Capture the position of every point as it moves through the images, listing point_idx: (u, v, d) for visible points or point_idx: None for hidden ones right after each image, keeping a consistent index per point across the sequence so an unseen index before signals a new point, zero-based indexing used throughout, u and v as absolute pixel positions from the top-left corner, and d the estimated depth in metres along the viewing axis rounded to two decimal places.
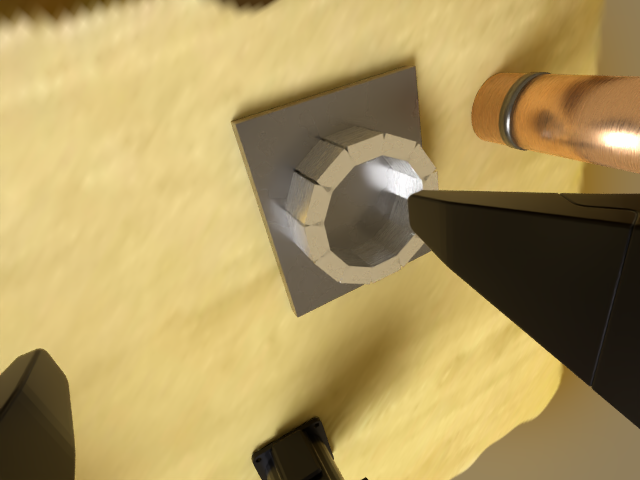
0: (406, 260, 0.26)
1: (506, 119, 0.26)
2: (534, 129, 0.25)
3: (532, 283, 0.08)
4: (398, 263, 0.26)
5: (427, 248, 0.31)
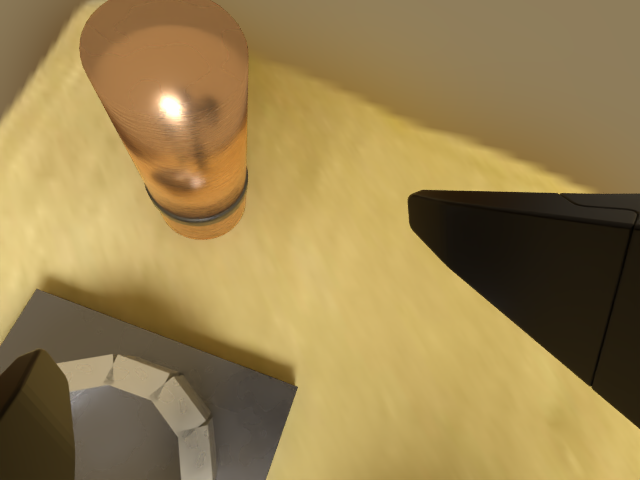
0: (207, 475, 0.16)
1: (170, 215, 0.20)
2: (170, 200, 0.18)
3: (532, 283, 0.08)
4: None
5: (288, 389, 0.20)
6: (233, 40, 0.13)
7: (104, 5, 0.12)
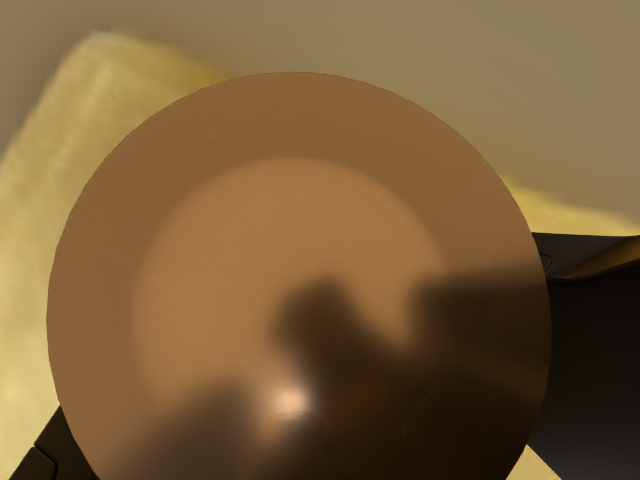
0: None
1: None
2: None
3: None
4: None
5: None
6: (494, 221, 0.04)
7: (127, 144, 0.04)
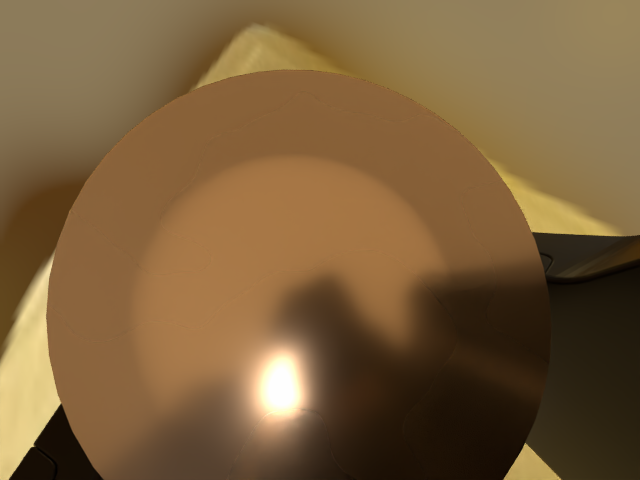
0: None
1: None
2: None
3: None
4: None
5: None
6: (494, 219, 0.04)
7: (127, 141, 0.04)
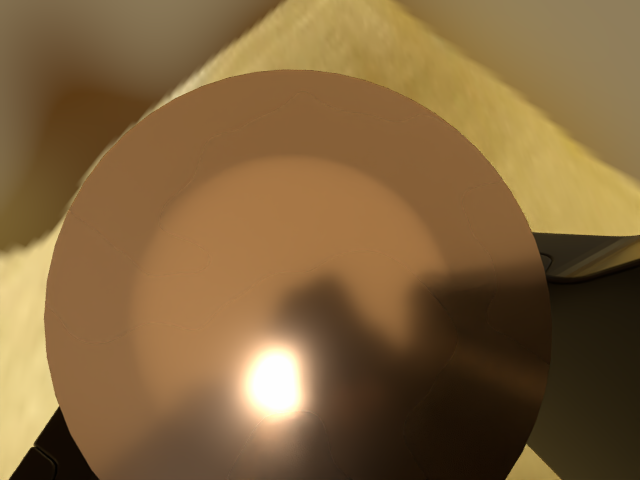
0: None
1: None
2: None
3: None
4: None
5: None
6: (494, 220, 0.04)
7: (125, 142, 0.04)
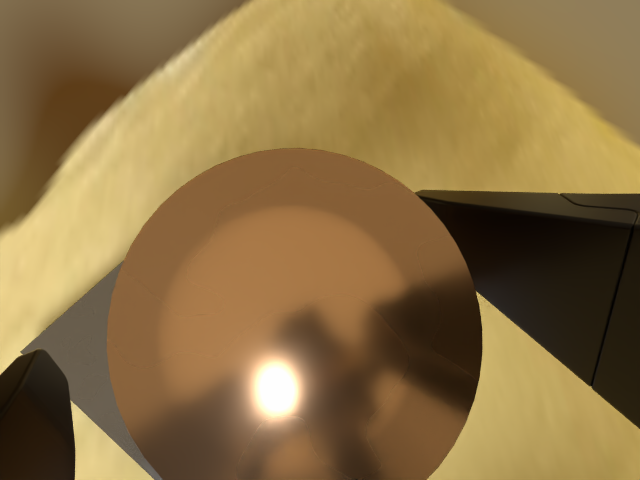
0: None
1: None
2: None
3: (532, 283, 0.08)
4: None
5: None
6: (442, 267, 0.06)
7: (160, 213, 0.05)
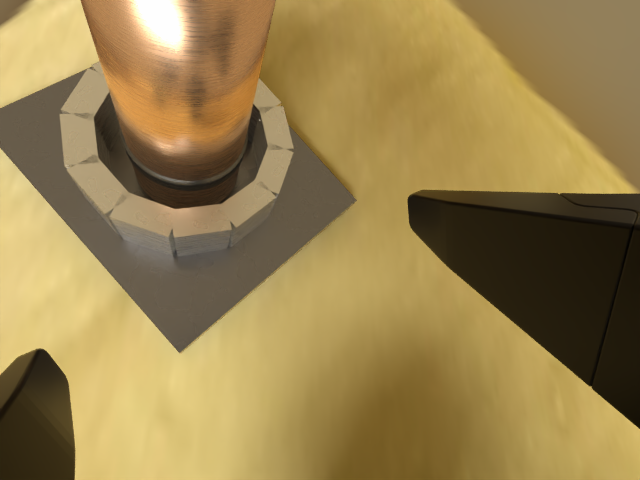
0: (277, 184, 0.18)
1: (147, 171, 0.16)
2: (150, 148, 0.14)
3: (532, 283, 0.08)
4: (265, 189, 0.17)
5: (348, 198, 0.22)
6: None
7: None
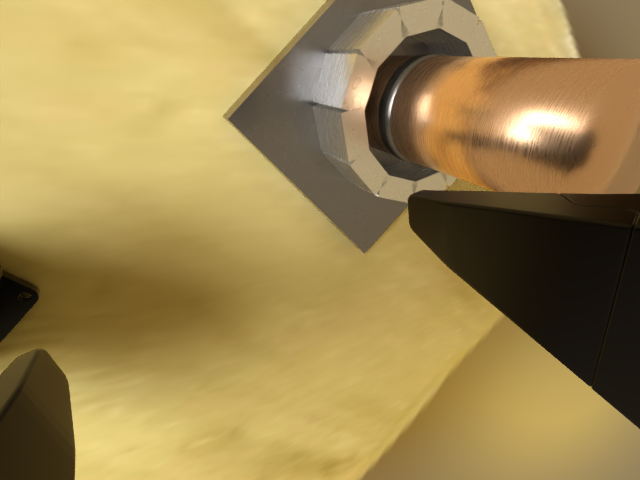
0: (385, 194, 0.20)
1: (396, 83, 0.18)
2: (424, 96, 0.16)
3: (532, 283, 0.08)
4: (380, 185, 0.20)
5: (366, 246, 0.25)
6: None
7: None
